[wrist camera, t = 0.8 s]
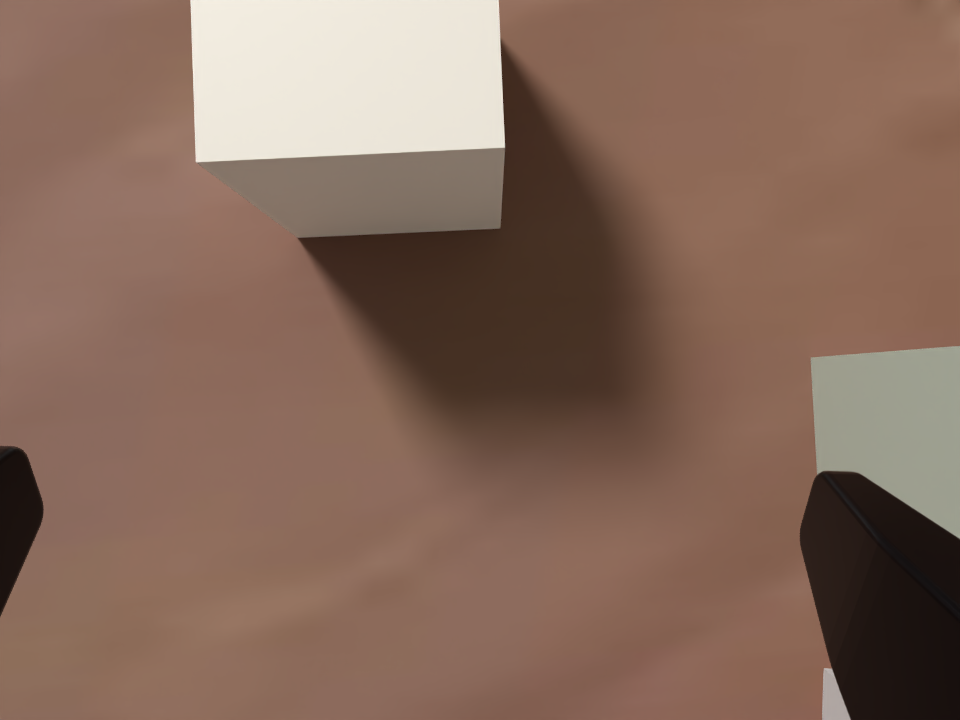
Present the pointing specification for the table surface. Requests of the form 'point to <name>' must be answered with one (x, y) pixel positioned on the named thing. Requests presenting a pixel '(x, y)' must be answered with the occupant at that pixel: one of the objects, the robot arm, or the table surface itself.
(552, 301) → the table surface
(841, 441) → the sage marked block
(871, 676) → the robot arm
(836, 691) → the grey marked block
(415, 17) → the plain cream block
